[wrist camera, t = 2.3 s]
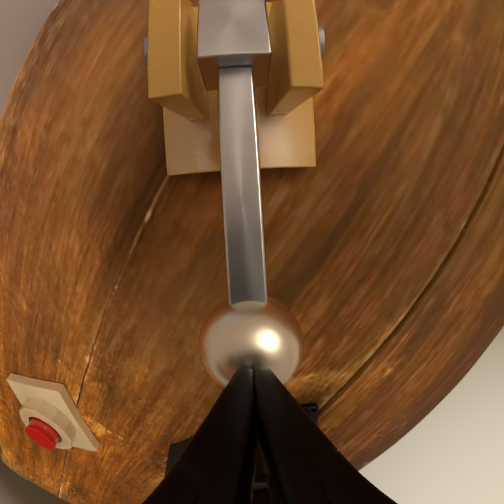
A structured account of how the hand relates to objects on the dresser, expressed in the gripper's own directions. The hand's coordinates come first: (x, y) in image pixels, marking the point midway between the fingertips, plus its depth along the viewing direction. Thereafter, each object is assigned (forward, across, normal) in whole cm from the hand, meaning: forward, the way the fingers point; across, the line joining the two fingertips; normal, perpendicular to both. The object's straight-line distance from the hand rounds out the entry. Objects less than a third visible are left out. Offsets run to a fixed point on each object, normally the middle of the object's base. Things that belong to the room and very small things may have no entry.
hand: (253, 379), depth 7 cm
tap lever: (+4, 0, -4) cm, 6 cm away
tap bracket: (+11, 0, -10) cm, 15 cm away
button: (+9, +22, +17) cm, 29 cm away
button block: (+11, +22, +17) cm, 30 cm away
